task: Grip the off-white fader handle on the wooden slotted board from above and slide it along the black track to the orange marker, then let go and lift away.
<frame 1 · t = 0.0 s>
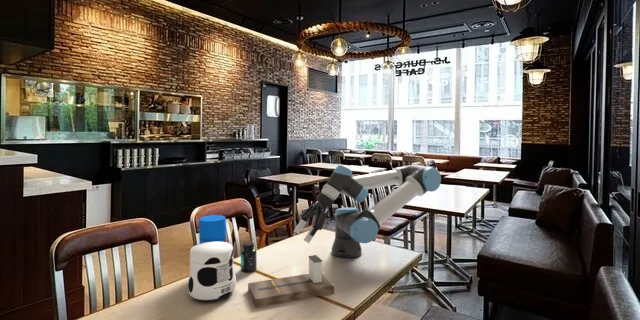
hand: (300, 237, 155), 15 cm above the table, tool tilted 35°, fingers open, 13 cm apart
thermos: (213, 276, 150), on the table
wooden slotted board: (290, 291, 136), on the table
fader: (315, 268, 139), point 8 cm above the table, slide at 0.0 cm
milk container: (212, 294, 134), on the table
supplement bottle: (248, 270, 157), on the table
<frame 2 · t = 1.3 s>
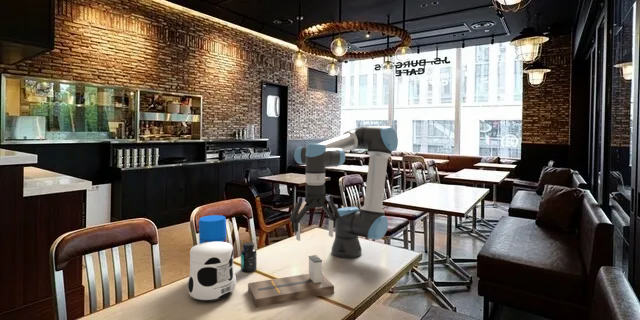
hand: (314, 237, 138), 20 cm above the table, tool pointing down, fingers open, 13 cm apart
nothing on the table moved.
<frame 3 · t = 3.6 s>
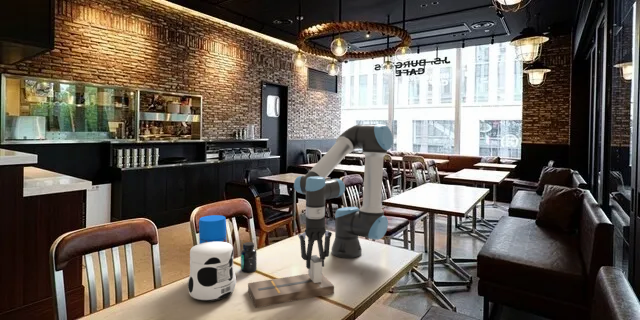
hand: (315, 275, 139), 5 cm above the table, tool pointing down, fingers closed on fader, 3 cm apart
fader: (315, 268, 139), point 8 cm above the table, slide at 0.0 cm, touching gripper
everything else where it was.
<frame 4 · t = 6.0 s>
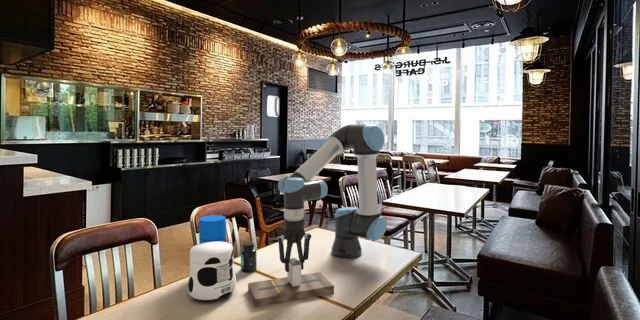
hand: (294, 278, 136), 5 cm above the table, tool pointing down, fingers closed on fader, 3 cm apart
fader: (294, 271, 136), point 8 cm above the table, slide at 8.6 cm, touching gripper
everything else where it was.
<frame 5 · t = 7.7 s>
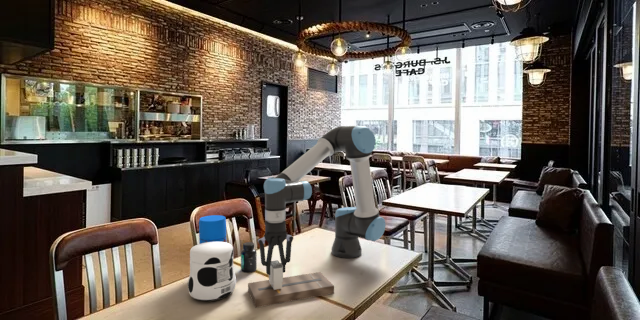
hand: (275, 281, 133), 5 cm above the table, tool pointing down, fingers closed on fader, 3 cm apart
fader: (275, 274, 133), point 8 cm above the table, slide at 15.8 cm, touching gripper
everything else where it was.
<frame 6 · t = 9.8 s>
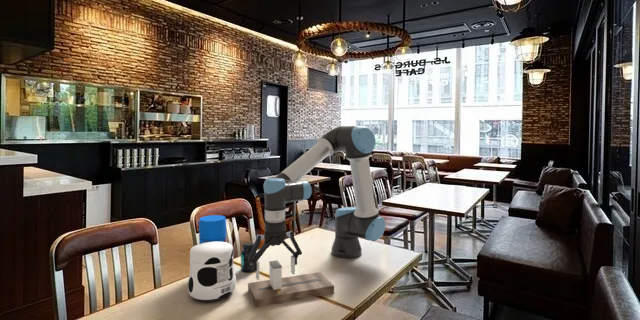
hand: (275, 275, 133), 7 cm above the table, tool pointing down, fingers open, 13 cm apart
fader: (275, 274, 133), point 8 cm above the table, slide at 16.0 cm
everything else where it was.
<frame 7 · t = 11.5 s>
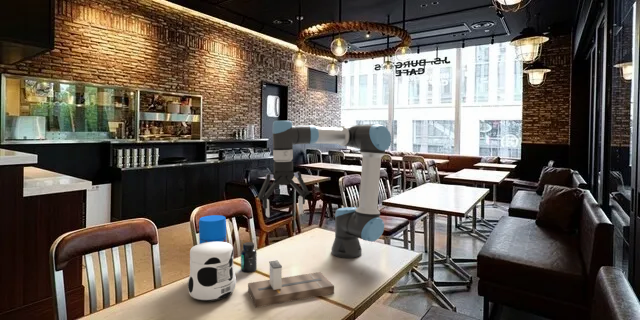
hand: (284, 214, 139), 29 cm above the table, tool pointing down, fingers open, 13 cm apart
nothing on the table moved.
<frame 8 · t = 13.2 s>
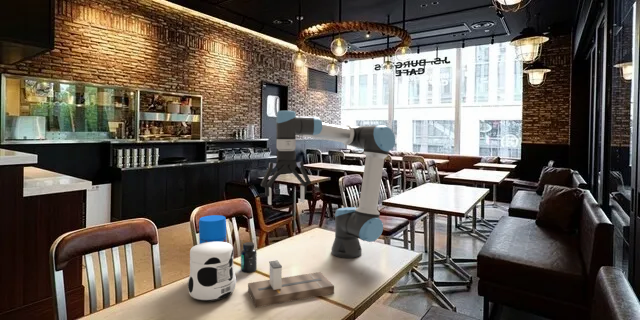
hand: (286, 203, 142), 33 cm above the table, tool pointing down, fingers open, 13 cm apart
nothing on the table moved.
at the end: fader slide at 16.0 cm; the gripper is holding nothing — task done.
